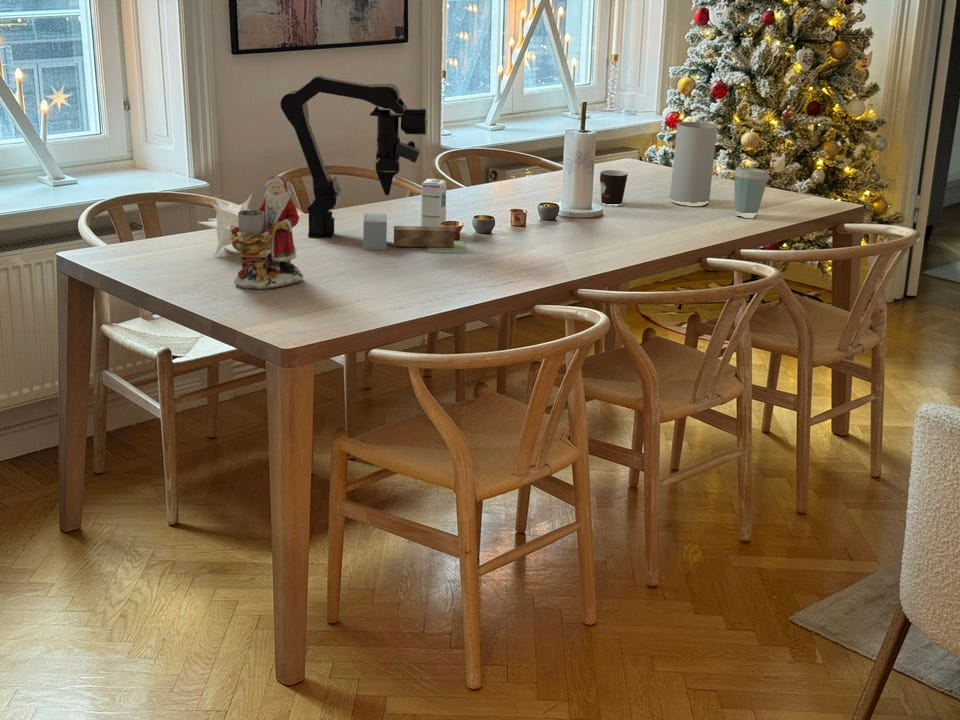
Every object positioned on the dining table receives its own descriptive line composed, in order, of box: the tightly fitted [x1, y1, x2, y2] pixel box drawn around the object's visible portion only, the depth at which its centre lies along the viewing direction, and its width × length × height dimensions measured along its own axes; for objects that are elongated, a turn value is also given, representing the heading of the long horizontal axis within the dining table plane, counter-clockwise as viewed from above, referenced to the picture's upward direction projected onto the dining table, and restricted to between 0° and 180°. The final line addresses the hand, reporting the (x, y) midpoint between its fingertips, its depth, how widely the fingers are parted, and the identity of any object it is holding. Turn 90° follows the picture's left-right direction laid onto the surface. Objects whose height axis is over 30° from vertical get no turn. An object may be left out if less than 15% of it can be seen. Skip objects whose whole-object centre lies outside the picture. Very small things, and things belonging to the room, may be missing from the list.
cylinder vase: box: [669, 121, 718, 203], centre depth 375 cm, size 12×12×25 cm
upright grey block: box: [362, 212, 388, 251], centre depth 313 cm, size 6×9×8 cm, turn 4°
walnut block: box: [393, 225, 455, 248], centre depth 315 cm, size 16×4×4 cm, turn 94°
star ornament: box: [197, 194, 253, 257], centre depth 301 cm, size 20×14×14 cm
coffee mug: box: [599, 169, 629, 204], centre depth 373 cm, size 12×9×10 cm
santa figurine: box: [230, 175, 304, 290], centre depth 276 cm, size 17×14×25 cm
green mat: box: [427, 240, 467, 254], centre depth 316 cm, size 10×12×1 cm
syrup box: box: [420, 178, 447, 227], centre depth 328 cm, size 6×6×14 cm
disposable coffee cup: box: [733, 167, 770, 214], centre depth 362 cm, size 11×11×15 cm
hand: (387, 191), depth 318 cm, fingers open, 9 cm apart
